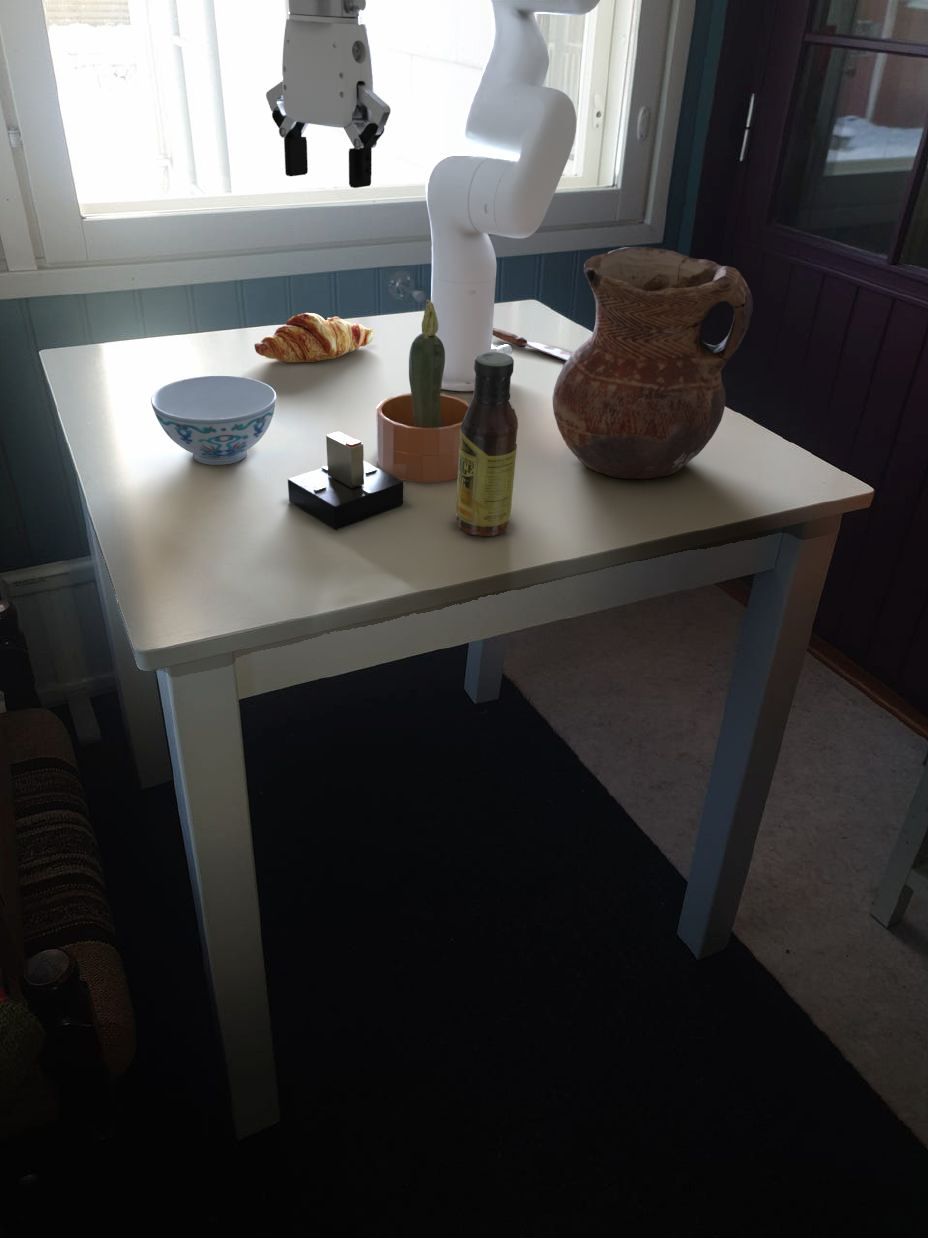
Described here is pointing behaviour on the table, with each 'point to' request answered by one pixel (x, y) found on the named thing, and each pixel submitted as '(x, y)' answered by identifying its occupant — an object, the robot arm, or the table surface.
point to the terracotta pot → (419, 440)
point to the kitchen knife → (530, 344)
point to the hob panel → (345, 496)
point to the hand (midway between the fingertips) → (327, 180)
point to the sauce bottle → (487, 449)
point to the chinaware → (215, 415)
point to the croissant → (313, 339)
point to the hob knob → (345, 459)
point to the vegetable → (427, 372)
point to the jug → (649, 362)
